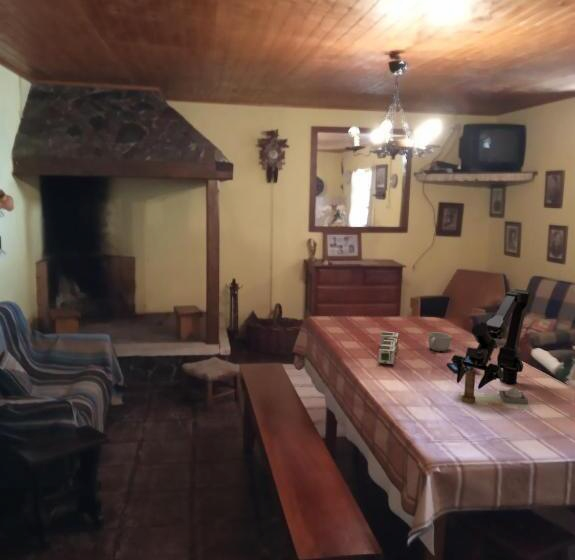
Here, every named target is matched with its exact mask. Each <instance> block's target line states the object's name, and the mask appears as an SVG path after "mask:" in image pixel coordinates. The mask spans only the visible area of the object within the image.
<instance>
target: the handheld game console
mask: <svg viewBox="0 0 575 560" xmlns="http://www.w3.org/2000/svg"><path fill="white" fill-rule="evenodd" d="M464 358H465V360H466V361H469V362H470V361H471V360H469V356H466V355H465V356H464ZM446 366H447V368H448V369H450V371H451V370H452V371H453V372H454V373H453V372H452V371H451V372H452V373H453V374H455V373H457V368H456V367H455V365H454V364H453V362H452V363H451V362H448V363H446ZM473 369H474V368H472V367H468V366H467V367H466V369H465V370H466V372H467V371H469V370H472V371H473ZM466 372H465V373H466Z"/></svg>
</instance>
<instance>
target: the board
mask: <svg viewBox="0 0 575 560" xmlns="http://www.w3.org/2000/svg"><path fill="white" fill-rule="evenodd" d="M505 391H506V390H502V389H501V390H499V392H498V393H499V394H496V393H495V394H494V393H482V392H474V396H475V403H473V404H469V403H465V402H463V401H462V396H463V395H464V391H458V394H459V398H460V400H461V403H462V405H463V406H475V407H484V408H485V407H486V408H487V407H488V408H499V409H500V408H502V409H511V410H512V409H514V410H527V411H533V410H532V408H531V405H529V404H528V403H529V400H528V398H527V396H526V395H525V394H524V392H523V391H520V392H521V393H522V399H519V398H507V397H505Z"/></svg>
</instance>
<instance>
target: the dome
mask: <svg viewBox="0 0 575 560" xmlns="http://www.w3.org/2000/svg"><path fill="white" fill-rule="evenodd" d="M504 391H505V397H507V398H519V399H522V393H521V392H522V391H519V390H518V389H517V388H516V387H511V388H509V389H508V390H504Z"/></svg>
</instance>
